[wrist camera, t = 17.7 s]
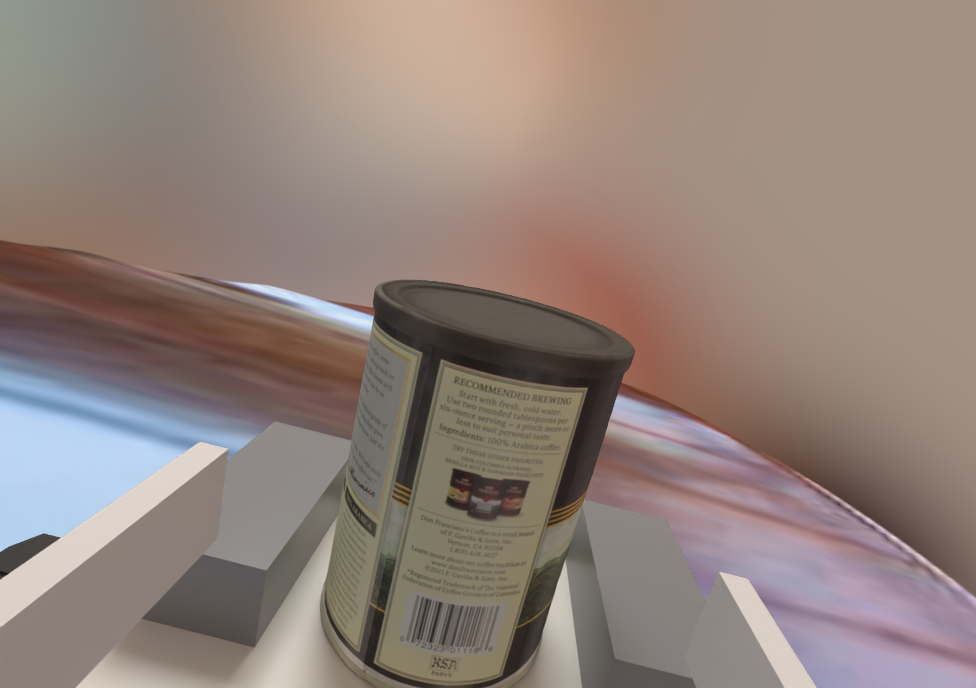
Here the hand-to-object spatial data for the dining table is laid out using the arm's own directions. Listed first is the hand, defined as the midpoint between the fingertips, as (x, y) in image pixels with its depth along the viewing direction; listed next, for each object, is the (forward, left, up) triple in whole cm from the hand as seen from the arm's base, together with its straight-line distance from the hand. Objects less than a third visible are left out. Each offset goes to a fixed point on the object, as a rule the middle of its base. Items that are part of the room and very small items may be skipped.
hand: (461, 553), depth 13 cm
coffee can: (+6, +6, -9) cm, 12 cm away
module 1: (0, +13, -9) cm, 16 cm away
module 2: (+13, 0, -9) cm, 16 cm away
